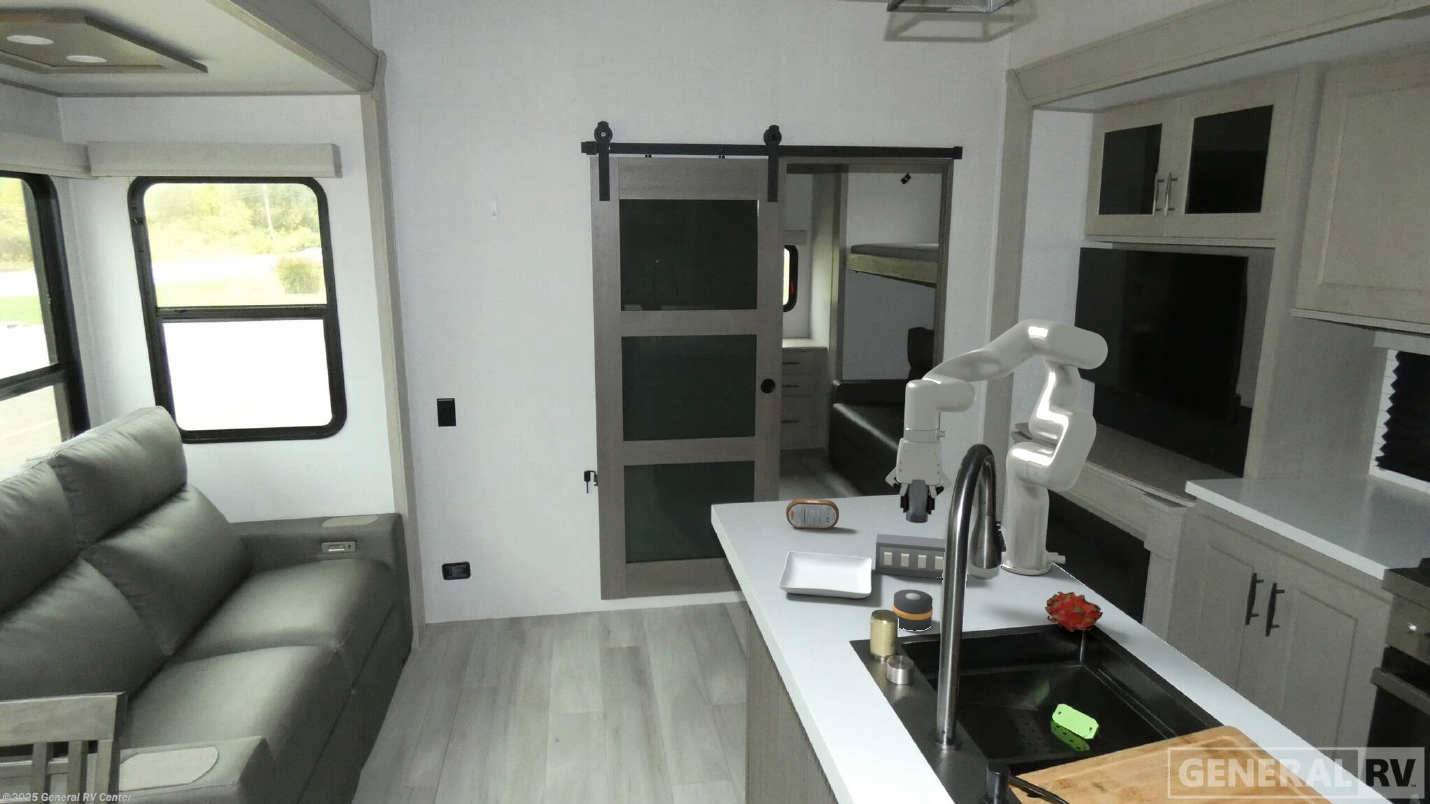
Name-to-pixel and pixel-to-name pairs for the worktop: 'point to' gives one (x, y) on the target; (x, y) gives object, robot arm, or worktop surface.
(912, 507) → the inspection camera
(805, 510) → the tin
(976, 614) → the worktop surface
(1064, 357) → the robot arm
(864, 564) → the salad plate
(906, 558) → the breaker panel
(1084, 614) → the dragon fruit
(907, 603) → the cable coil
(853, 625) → the worktop surface
